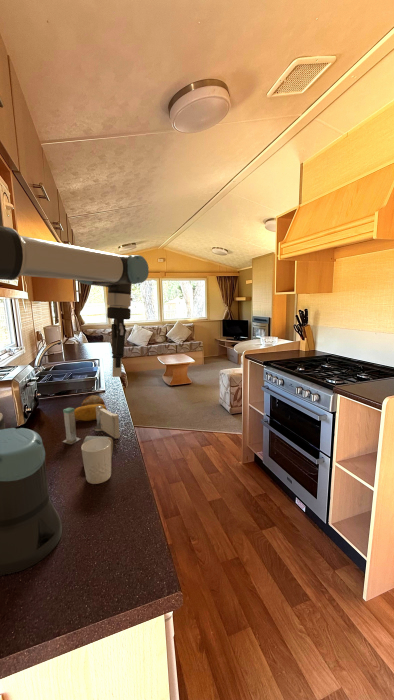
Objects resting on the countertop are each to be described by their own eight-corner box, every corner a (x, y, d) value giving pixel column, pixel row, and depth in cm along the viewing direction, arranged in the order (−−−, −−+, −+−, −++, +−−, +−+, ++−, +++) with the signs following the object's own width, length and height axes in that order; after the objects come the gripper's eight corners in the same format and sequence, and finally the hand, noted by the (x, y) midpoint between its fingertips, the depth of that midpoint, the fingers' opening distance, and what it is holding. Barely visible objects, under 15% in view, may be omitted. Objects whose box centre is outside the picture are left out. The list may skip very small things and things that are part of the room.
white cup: (111, 467, 90) (109, 436, 89) (114, 481, 83) (112, 448, 81) (84, 472, 88) (81, 441, 86) (84, 488, 80) (81, 453, 79)
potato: (107, 421, 125) (106, 405, 124) (72, 425, 121) (70, 409, 120) (107, 414, 132) (106, 399, 131) (73, 418, 128) (72, 403, 127)
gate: (101, 429, 116) (99, 408, 114) (105, 427, 117) (103, 406, 115) (115, 438, 107) (114, 416, 106) (119, 437, 108) (118, 414, 107)
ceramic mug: (109, 465, 92) (108, 441, 90) (82, 466, 91) (80, 442, 90) (116, 448, 102) (115, 427, 101) (91, 449, 101) (90, 428, 100)
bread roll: (89, 420, 135) (93, 406, 132) (75, 407, 139) (78, 394, 136) (106, 413, 143) (110, 400, 140) (92, 401, 147) (96, 388, 144)
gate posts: (69, 445, 104) (66, 412, 102) (61, 441, 107) (57, 409, 105) (110, 427, 118) (108, 398, 116) (102, 424, 121) (99, 396, 119)
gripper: (134, 308, 95) (131, 380, 98) (126, 307, 107) (124, 372, 110) (110, 306, 92) (108, 381, 95) (104, 306, 104) (102, 372, 107)
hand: (116, 376), depth 103 cm, fingers closed
